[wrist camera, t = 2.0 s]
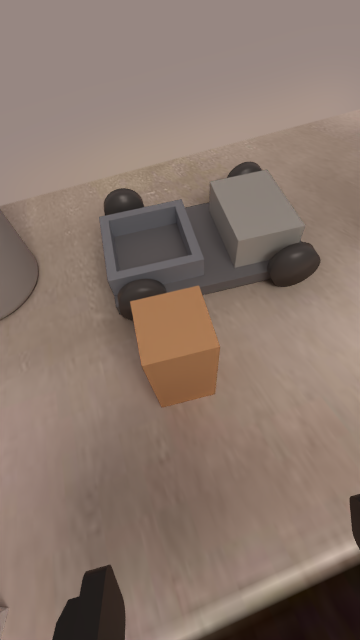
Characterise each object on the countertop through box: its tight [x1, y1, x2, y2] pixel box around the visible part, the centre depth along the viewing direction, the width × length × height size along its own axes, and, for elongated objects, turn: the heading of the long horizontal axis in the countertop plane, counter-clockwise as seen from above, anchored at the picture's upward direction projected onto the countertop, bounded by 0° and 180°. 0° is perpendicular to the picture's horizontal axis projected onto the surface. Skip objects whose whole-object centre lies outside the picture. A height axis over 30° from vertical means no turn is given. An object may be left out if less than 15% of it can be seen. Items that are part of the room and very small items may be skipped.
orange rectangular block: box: [130, 285, 220, 407], centre depth 24 cm, size 5×5×10 cm
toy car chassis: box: [99, 162, 320, 320], centre depth 34 cm, size 22×16×6 cm
